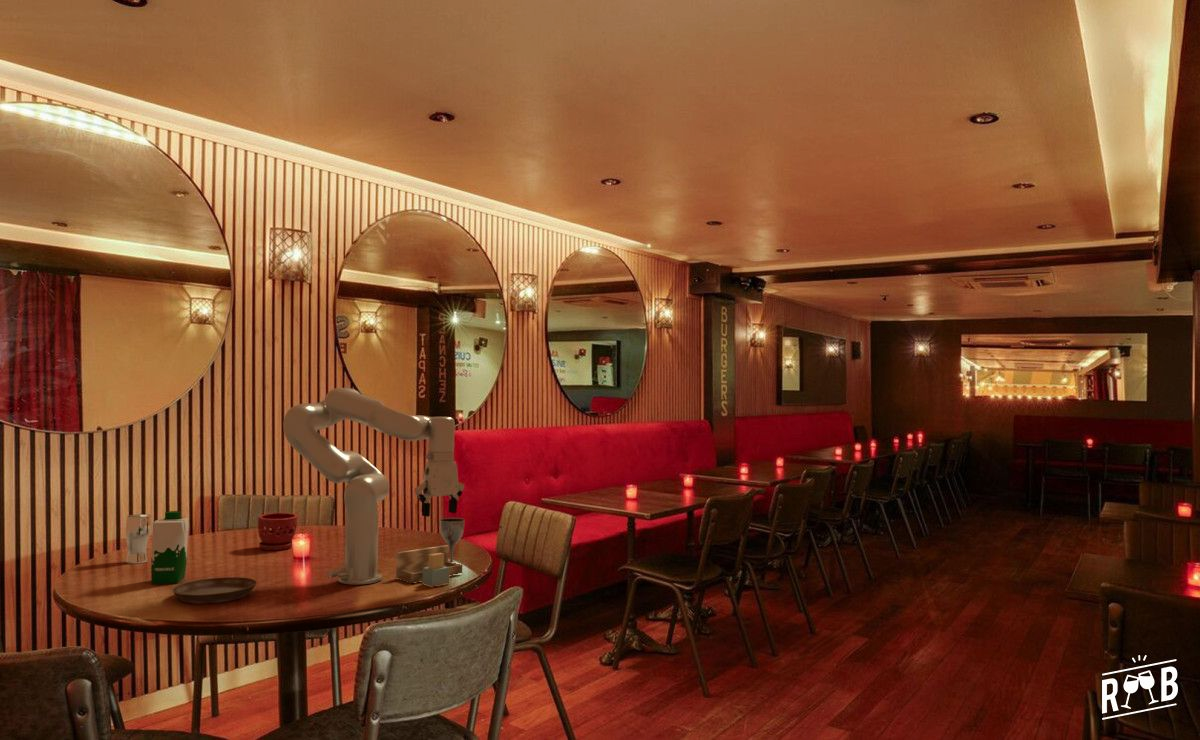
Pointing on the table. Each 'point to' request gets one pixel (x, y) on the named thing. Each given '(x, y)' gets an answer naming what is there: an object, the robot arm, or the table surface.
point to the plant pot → (276, 530)
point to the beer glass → (137, 538)
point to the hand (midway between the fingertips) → (439, 514)
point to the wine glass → (452, 532)
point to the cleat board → (421, 563)
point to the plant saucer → (214, 590)
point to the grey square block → (436, 571)
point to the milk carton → (169, 549)
